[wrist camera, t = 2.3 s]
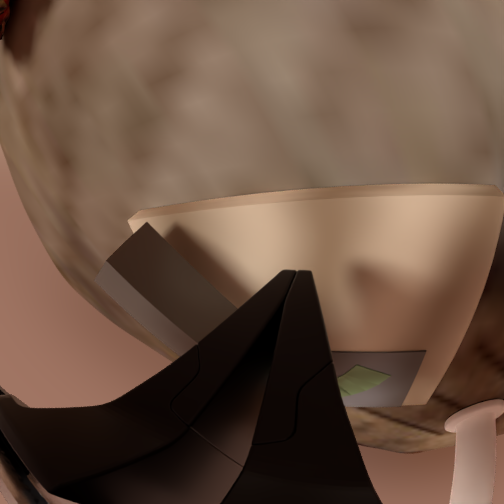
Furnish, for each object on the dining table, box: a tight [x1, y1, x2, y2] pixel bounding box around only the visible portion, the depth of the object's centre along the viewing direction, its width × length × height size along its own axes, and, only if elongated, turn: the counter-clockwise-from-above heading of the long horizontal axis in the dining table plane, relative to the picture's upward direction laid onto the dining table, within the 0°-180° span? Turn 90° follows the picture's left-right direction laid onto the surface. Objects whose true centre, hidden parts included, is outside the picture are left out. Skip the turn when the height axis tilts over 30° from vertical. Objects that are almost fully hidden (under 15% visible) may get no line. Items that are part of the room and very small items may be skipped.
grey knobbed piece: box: [94, 222, 238, 356], centre depth 13 cm, size 11×9×3 cm
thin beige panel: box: [128, 184, 504, 407], centre depth 14 cm, size 16×16×1 cm
